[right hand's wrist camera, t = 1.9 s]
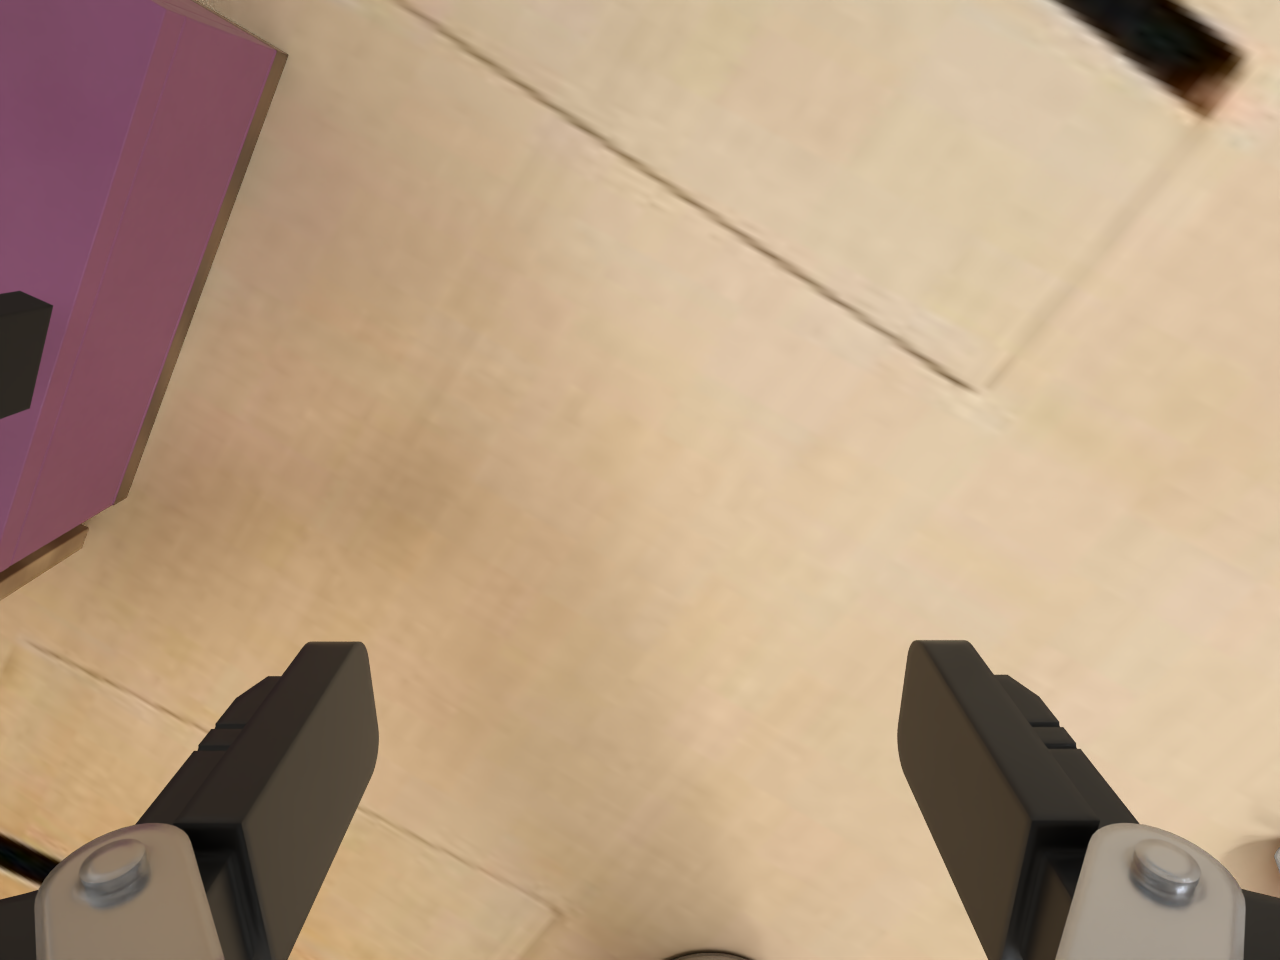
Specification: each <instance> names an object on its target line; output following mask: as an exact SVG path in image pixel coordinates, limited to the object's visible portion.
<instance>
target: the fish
mask: <svg viewBox="0 0 1280 960" xmlns="http://www.w3.org/2000/svg"><path fill="white" fill-rule="evenodd" d="M1274 858H1275V860H1276V863H1277V866H1278V869H1279V873H1280V847H1279V848H1278V849H1277V851H1276V853H1275V855H1274Z"/></svg>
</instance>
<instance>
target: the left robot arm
mask: <svg viewBox="0 0 1280 960" xmlns="http://www.w3.org/2000/svg"><path fill="white" fill-rule="evenodd" d="M52 309H53V305H51V304H49V303H47V302H44V301H42V300H40V299H38V298H35V297H33V296H31V295H29V294H26V293H24V292H22V291H14V292H8V293H2V294H0V419H2V418H5V417H8V416H10V415H13V414H16V413H19V412H21V411H24V410H27V409H30V406H31V401H32V397H33V393H34V388H35V384H36V379H37V375H38V371H39V366H40V362H41V358H42V353H43V349H44V344H45V340H46V336H47V331H48V327H49V322H50V318H51V314H52Z"/></svg>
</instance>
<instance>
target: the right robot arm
mask: <svg viewBox="0 0 1280 960" xmlns="http://www.w3.org/2000/svg"><path fill="white" fill-rule="evenodd" d="M897 739H898V751H899V758H900V762H901V766H902V769H903V772H904V775H905V777H906V779H907V781H908V784H909V786H910V788H911V790H912V792H913V795H914V797H915V799H916V801H917V803H918V806H919V808H920V810H921V812H922V814H923V817H924V819H925V821H926V823H927V825H928V828H929V830H930V832H931V834H932V837H933V839H934V841H935V843H936V845H937V848H938V850H939V852H940V854H941V856H942V859H943V861H944V863H945V865H946V867H947V870H948V872H949V874H950V876H951V878H952V881H953V883H954V885H955V887H956V889H957V892H958V894H959V896H960V898H961V901H962V903H963V905H964V907H965V909H966V912H967V914H968V916H969V918H970V920H971V923H972V925H973V927H974V929H975V931H976V934H977V936H978V938H979V940H980V942H981V945H982V947H983V949H984V951H985V953H986V956H987V958H988V960H1280V898H1276V897H1272V896H1268V895H1264V894H1260V893H1255V892H1251V891H1247V890H1244V889H1241V888H1240V886H1239V885H1238V883H1237V881H1236V880H1235V879H1234V877H1233V876H1232V875H1231V874H1230V872H1229V871H1228V870H1227V869H1226V868H1225V867H1224V866H1223V865H1222V864H1221V863H1220V862H1219V861H1217V860H1216V859H1215V858H1214V857H1212V856H1211V855H1210V854H1209V853H1207V852H1206V851H1204V850H1203V849H1201V848H1200V847H1198V846H1197V845H1195V844H1193V843H1191V842H1189V841H1188V840H1186V839H1184V838H1182V837H1180V836H1177V835H1175V834H1173V833H1170V832H1168V831H1165V830H1162V829H1159V828H1155V827H1151V826H1147V825H1142V824H1139V823H1138V821H1137V820H1136V819H1135V818H1134V816H1133V815H1132V814H1131V812H1130V811H1129V810H1128V809H1127V807H1126V806H1125V805H1124V804H1123V802H1122V801H1121V800H1120V799H1119V797H1118V796H1117V795H1116V793H1115V792H1114V791H1113V790H1112V788H1111V787H1110V786H1109V785H1108V783H1107V782H1106V781H1105V780H1104V778H1103V777H1102V776H1101V774H1100V773H1099V772H1098V771H1097V769H1096V768H1095V767H1094V766H1093V764H1092V763H1091V762H1090V761H1089V759H1088V758H1087V757H1086V755H1085V754H1084V753H1083V752H1082V750H1081V749H1077V748H1076V743H1075V741H1074V740H1073V739H1072V738H1071V736H1070V735H1069V734H1068V733H1067V731H1066V730H1065V729H1064V728H1063V727H1060V726H1059V721H1058V720H1057V719H1056V717H1055V716H1054V715H1053V714H1052V712H1051V711H1050V710H1049V709H1048V707H1047V706H1046V705H1045V703H1044V702H1043V701H1042V700H1041V698H1040V697H1039V696H1037V695H1036V694H1035V693H1033V692H1032V691H1030V690H1029V689H1027V688H1026V687H1024V686H1023V685H1021V684H1020V683H1019V682H1017V681H1016V680H1014V679H1013V678H1011V677H1010V676H1008V675H994V674H993V673H992V672H991V670H990V669H989V668H988V666H987V665H986V663H985V662H984V661H983V659H982V658H981V657H980V655H979V654H978V653H977V651H976V650H975V648H974V647H973V646H972V645H971V643H969V642H968V641H965V640H916V641H914V642H912V644H911V646H910V648H909V651H908V656H907V663H906V671H905V678H904V685H903V693H902V700H901V708H900V715H899V722H898V733H897ZM378 744H379V732H378V723H377V716H376V709H375V701H374V694H373V687H372V680H371V673H370V665H369V658H368V653H367V650H366V647H365V645H364V644H363V643H362V642H308V643H307V644H305V645H304V647H303V648H302V649H301V650H300V652H299V653H298V655H297V656H296V657H295V659H294V660H293V661H292V663H291V664H290V665H289V667H288V668H287V669H286V671H285V672H284V673H283V675H282V676H268V677H266V678H265V679H263V680H262V681H260V682H259V683H258V684H256V685H255V686H253V687H252V688H250V689H249V690H247V691H246V692H244V693H243V694H242V695H240V696H239V697H237V698H236V699H235V700H234V701H233V703H232V704H231V705H230V706H229V708H228V709H227V710H226V711H225V713H224V714H223V715H222V716H221V718H220V719H219V720H218V721H217V723H216V727H215V729H211V730H210V732H209V733H208V734H207V735H206V737H205V738H204V739H203V740H202V742H201V743H200V744H199V745H198V746H199V748H198V751H194V752H193V753H192V754H191V755H190V757H189V758H188V759H187V760H186V762H185V763H184V764H183V765H182V767H181V768H180V769H179V770H178V772H177V773H176V774H175V775H174V777H173V778H172V779H171V780H170V782H169V783H168V784H167V786H166V787H165V788H164V789H163V791H162V792H161V793H160V794H159V796H158V797H157V798H156V799H155V801H154V802H153V803H152V804H151V806H150V807H149V808H148V809H147V811H146V812H145V813H144V814H143V816H142V817H141V818H140V819H139V821H138V822H137V823H136V824H135V825H133V826H129V827H125V828H121V829H118V830H115V831H112V832H110V833H107V834H105V835H103V836H100V837H98V838H96V839H94V840H92V841H91V842H89V843H87V844H85V845H83V846H82V847H80V848H79V849H77V850H76V851H74V852H73V853H71V854H70V855H69V856H68V857H66V858H65V859H64V860H63V861H61V862H60V863H59V864H58V865H57V866H56V867H55V868H54V869H53V870H52V871H51V872H50V874H49V875H48V876H47V877H46V879H45V880H44V881H43V883H42V885H41V886H40V888H39V890H36V891H33V892H29V893H26V894H22V895H17V896H13V897H9V898H5V899H1V900H0V960H287V959H288V957H289V955H290V953H291V951H292V949H293V946H294V944H295V942H296V940H297V938H298V935H299V933H300V931H301V929H302V927H303V925H304V922H305V920H306V918H307V916H308V914H309V912H310V909H311V907H312V905H313V903H314V901H315V898H316V896H317V894H318V892H319V890H320V888H321V885H322V883H323V881H324V879H325V877H326V874H327V872H328V870H329V868H330V866H331V864H332V861H333V859H334V857H335V855H336V853H337V850H338V848H339V846H340V844H341V842H342V840H343V837H344V835H345V833H346V831H347V829H348V826H349V824H350V822H351V820H352V818H353V816H354V813H355V811H356V809H357V807H358V805H359V803H360V800H361V798H362V796H363V794H364V792H365V789H366V787H367V785H368V783H369V781H370V779H371V776H372V774H373V771H374V768H375V764H376V759H377V753H378ZM673 960H747V959H744V958H741V957H738V956H734V955H729V954H722V953H699V954H692V955H687V956H683V957H679V958H676V959H673Z"/></svg>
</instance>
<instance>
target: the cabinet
mask: <svg viewBox="0 0 1280 960" xmlns="http://www.w3.org/2000/svg"><path fill="white" fill-rule="evenodd" d="M287 57H288V54H286V53H285V52H283V51H281V50H279V49H278V48H276V47H274V46H273V45H271V44H269V43H268V42H266V41H264V40H262V39H261V38H259V37H257V36H256V35H254V34H252V33H250V32H249V31H247V30H245V29H244V28H242V27H240V26H239V25H237V24H235V23H233V22H232V21H230V20H228V19H227V18H225V17H223V16H222V15H220V14H218V13H216V12H215V11H213V10H211V9H210V8H208V7H206V6H204V5H203V4H201V3H199V2H198V1H196V0H0V294H2V293H8V292H14V291H22V292H24V293H26V294H29V295H31V296H33V297H35V298H38V299H40V300H42V301H44V302H47V303H49V304H51V305H53V309H52V314H51V318H50V322H49V327H48V331H47V336H46V340H45V344H44V349H43V353H42V358H41V362H40V366H39V371H38V375H37V379H36V384H35V388H34V393H33V397H32V401H31V406H30V409H27V410H24V411H21V412H19V413H16V414H13V415H10V416H8V417H5V418H2V419H0V572H2V571H4V570H5V569H7V568H8V567H9V566H11V565H13V564H15V563H16V562H18V561H20V560H21V559H23V558H25V557H26V556H28V555H30V554H31V553H33V552H35V551H36V550H38V549H40V548H41V547H43V546H45V545H46V544H48V543H50V542H51V541H53V540H55V539H56V538H58V537H60V536H61V535H63V534H65V533H66V532H68V531H70V530H71V529H73V528H75V527H76V526H78V525H80V524H81V523H83V522H85V521H86V520H88V519H90V518H91V517H93V516H95V515H96V514H98V513H100V512H101V511H103V510H105V509H106V508H108V507H110V506H111V505H115V504H117V503H118V502H120V501H122V500H123V499H125V498H126V497H127V495H128V492H129V489H130V487H131V484H132V481H133V479H134V476H135V473H136V470H137V468H138V465H139V462H140V459H141V457H142V454H143V451H144V448H145V446H146V443H147V440H148V437H149V435H150V432H151V429H152V427H153V424H154V421H155V418H156V416H157V413H158V410H159V407H160V405H161V402H162V399H163V396H164V394H165V391H166V388H167V385H168V383H169V380H170V377H171V375H172V372H173V369H174V366H175V364H176V361H177V358H178V355H179V353H180V350H181V347H182V344H183V342H184V339H185V336H186V334H187V331H188V328H189V325H190V323H191V320H192V317H193V314H194V312H195V309H196V306H197V303H198V301H199V298H200V295H201V292H202V290H203V287H204V284H205V282H206V279H207V276H208V273H209V271H210V268H211V265H212V262H213V260H214V257H215V254H216V251H217V249H218V246H219V243H220V240H221V238H222V235H223V232H224V230H225V227H226V224H227V221H228V219H229V216H230V213H231V210H232V208H233V205H234V202H235V199H236V197H237V194H238V191H239V188H240V186H241V183H242V180H243V178H244V175H245V172H246V169H247V167H248V164H249V161H250V158H251V156H252V153H253V150H254V147H255V145H256V142H257V139H258V136H259V134H260V131H261V128H262V126H263V123H264V120H265V117H266V115H267V112H268V109H269V106H270V104H271V101H272V98H273V95H274V93H275V90H276V87H277V84H278V82H279V79H280V76H281V74H282V71H283V68H284V65H285V63H286V60H287Z"/></svg>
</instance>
